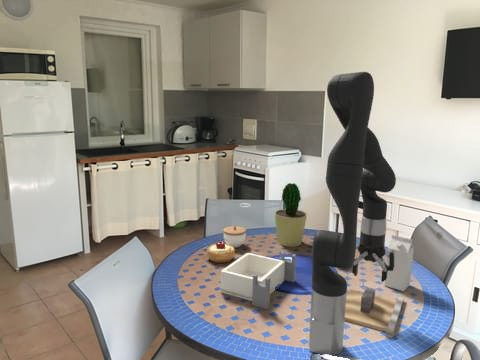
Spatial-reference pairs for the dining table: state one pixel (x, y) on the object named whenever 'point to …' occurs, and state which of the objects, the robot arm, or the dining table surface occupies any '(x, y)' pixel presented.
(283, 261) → the white open box
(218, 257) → the pastry
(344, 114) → the robot arm
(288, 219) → the potted cactus
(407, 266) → the milk carton
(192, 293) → the dining table surface
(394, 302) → the door
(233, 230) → the lidded jar
